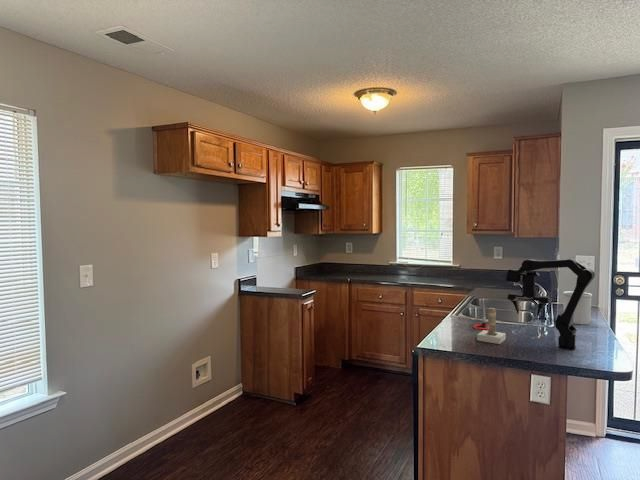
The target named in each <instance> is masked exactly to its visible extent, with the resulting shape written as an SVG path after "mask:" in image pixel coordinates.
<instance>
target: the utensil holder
mask: <svg viewBox="0 0 640 480" xmlns="http://www.w3.org/2000/svg"><path fill="white" fill-rule="evenodd" d="M573 292H574V290H571V291H570V290H568V291H563V293H562V294H563V295H562V296H563V312H562V314H563V313H564V311H565V309H566V307H567V305H568V303H569V300H570V298H571V296H572V294H573ZM592 297H593V294H592V293H589V292H585V291H584V293H583V295H582V298H581V300H580V302H579V304H578V306H577V308H576V310H575V312H574V315H573V322H572V325H574V324H575V325H590V322H591V313H592Z"/></svg>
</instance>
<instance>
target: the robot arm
mask: <svg viewBox="0 0 640 480" xmlns="http://www.w3.org/2000/svg"><path fill="white" fill-rule="evenodd" d="M554 268H555V269H556V268H557V269H558V268H559V269H560V268H568V269H570V271H572V273H574V275H576V276H577V278H576V283H575V288H574V289H573V291H574V292H573V294H572V296H571V298H570V300H569V303H568V305H567V307H566V309H565V311H564V313H563V312H560V313H558V314H557V315H556V316H557V317H556V319H555V321H554V323H555V324H554V326H555V329H556V330H557V331H558V333H559V336H558V347H559V348H561V349H567V350H575V349H576V348H577V345H576V341H577V340H576V337H577V336H576V333H577V328H576V327H575V326H574V324H573V323H572V322H573V315H574V312H575V310H576V308H577V306H578V304H579V302H580V300H581V298H582V295H583V293H584V292H585V291H586V289H587V288H588V286H589V285H590V284H591V283H592V281H593V280H594V279H595V277H596V274H595V271H594V270H593V269H591V268H587V267H585V266H584V265H582V264H581V263H579V262H578V261H576V260H575V258H567V259H555V260H554V259H553V260H541V259H540V260H539V259H532V258H531V259H525V260H523V261H522V263H521V266H520V267H519V268H518V269H511V268H509V269H508V270H507V273H506V276H505V279H506V282H507V283H509V284H510V283H511V284H520V283H521V282H522V286H521V292H520V293H521V294H518V293H516V292H510V293H509V294H507V300H509V301H510V302H511V303H513V306H514V308H515V311H516V314H518V315H519V314H520V310H519V309H520V307H519V300H525V301H538V306H537V313H536V315H537V317H539V316H540V315H541V314H540V313H541V310H543V309H542V308H543V306H546V305H547V304H549V303H550V302H551V298H550V297H549V296H548V295H540V296H537V290H536V277H540V276H541V274H540V273H539V272H538V270H541V269H554Z"/></svg>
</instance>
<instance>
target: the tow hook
mask: <svg viewBox="0 0 640 480" xmlns="http://www.w3.org/2000/svg"><path fill="white" fill-rule="evenodd" d="M482 306H483V307H482V322H481V323H477V324H474V325H473V327H472V328H473V329H474V328H475V329H474V330H478V329H480V331H483V330H486V331H488V321H486V305H485V304H483V305H482ZM482 326H483V327H482Z"/></svg>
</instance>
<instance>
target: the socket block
mask: <svg viewBox="0 0 640 480" xmlns="http://www.w3.org/2000/svg"><path fill="white" fill-rule="evenodd" d="M506 335H507V334H506V333H505V332H499V331H496V333H495V336H493V335H488V330H481V331H480V332H479V333H478V334H477V336H476V337H477V338H476V339H477V341H478V342H485V343H491V344H498V345H501V344H502V343H503V342H505V340H506V339H507V338H506Z"/></svg>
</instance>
